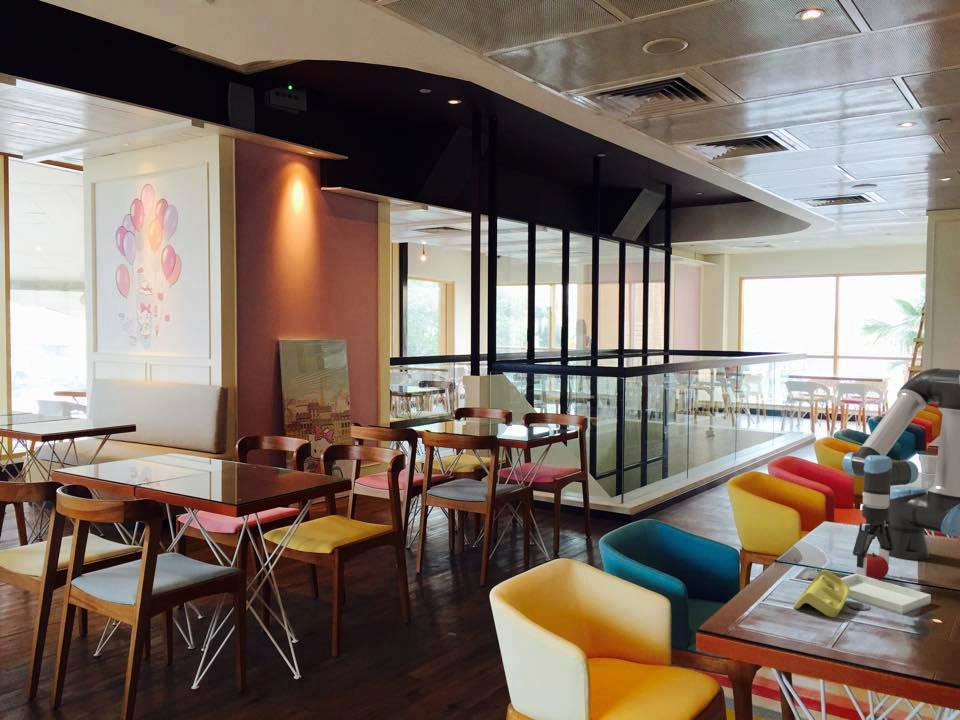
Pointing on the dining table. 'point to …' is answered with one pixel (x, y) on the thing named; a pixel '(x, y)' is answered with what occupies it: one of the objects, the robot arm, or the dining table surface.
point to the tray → (885, 594)
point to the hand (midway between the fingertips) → (872, 574)
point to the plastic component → (825, 594)
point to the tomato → (876, 566)
